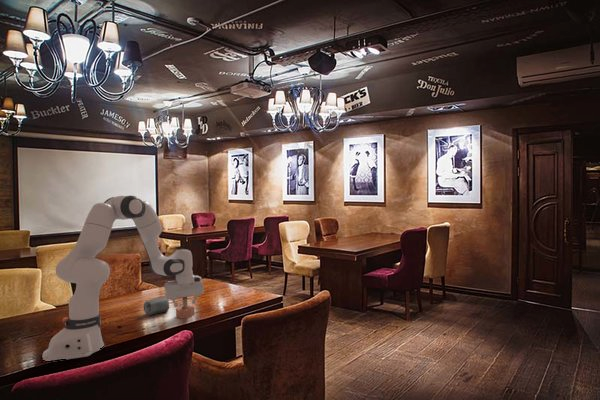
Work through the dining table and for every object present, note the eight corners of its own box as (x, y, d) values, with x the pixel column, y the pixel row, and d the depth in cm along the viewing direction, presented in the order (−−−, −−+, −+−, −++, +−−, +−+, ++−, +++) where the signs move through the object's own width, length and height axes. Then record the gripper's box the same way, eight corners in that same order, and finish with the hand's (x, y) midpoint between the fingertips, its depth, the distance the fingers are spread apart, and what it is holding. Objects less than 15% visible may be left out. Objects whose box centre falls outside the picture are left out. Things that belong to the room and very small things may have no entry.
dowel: (183, 316, 209) (183, 297, 209) (182, 315, 211) (181, 296, 211) (188, 315, 210) (187, 296, 210) (187, 314, 212) (186, 295, 212)
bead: (179, 319, 205) (179, 311, 205) (174, 314, 212) (174, 307, 212) (196, 315, 209) (195, 308, 209) (191, 311, 217) (191, 304, 217)
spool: (146, 312, 206) (147, 293, 211) (140, 317, 212) (141, 298, 217) (172, 313, 214) (172, 295, 219) (165, 318, 220) (166, 300, 225)
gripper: (165, 283, 202) (166, 309, 203) (204, 277, 213) (205, 303, 213) (162, 280, 208) (163, 306, 208) (201, 275, 218) (201, 300, 219)
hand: (185, 304), depth 211 cm, fingers open, 8 cm apart
